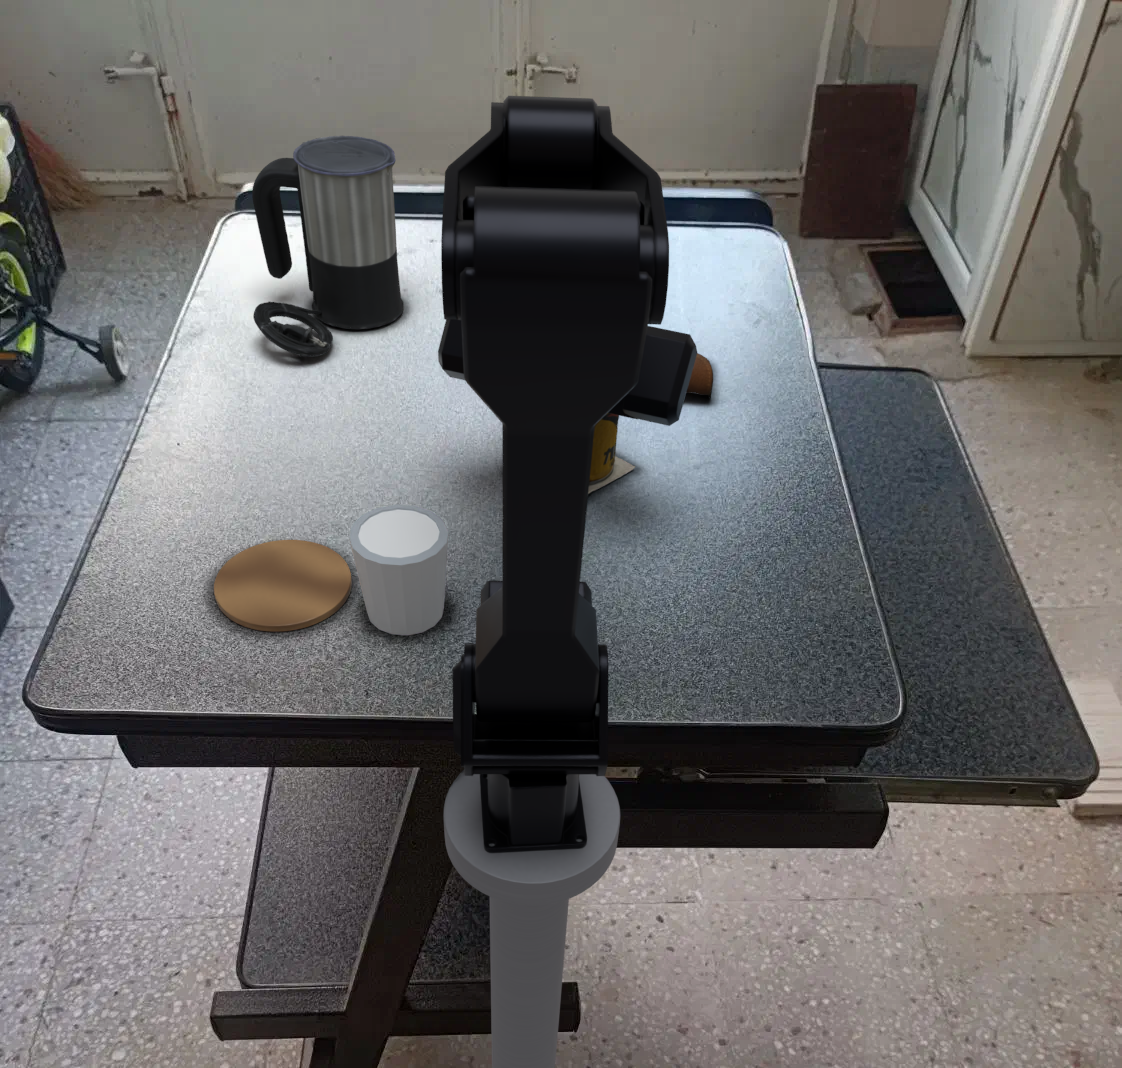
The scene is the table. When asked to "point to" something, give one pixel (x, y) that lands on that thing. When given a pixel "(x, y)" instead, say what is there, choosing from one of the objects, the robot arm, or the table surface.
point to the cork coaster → (282, 585)
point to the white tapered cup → (401, 566)
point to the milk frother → (332, 239)
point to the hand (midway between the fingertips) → (586, 390)
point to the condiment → (606, 454)
